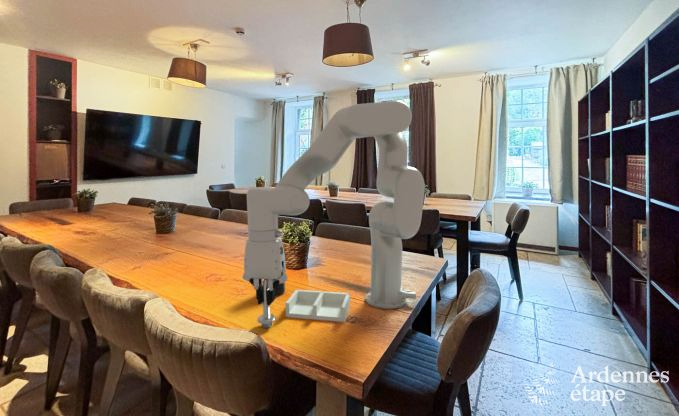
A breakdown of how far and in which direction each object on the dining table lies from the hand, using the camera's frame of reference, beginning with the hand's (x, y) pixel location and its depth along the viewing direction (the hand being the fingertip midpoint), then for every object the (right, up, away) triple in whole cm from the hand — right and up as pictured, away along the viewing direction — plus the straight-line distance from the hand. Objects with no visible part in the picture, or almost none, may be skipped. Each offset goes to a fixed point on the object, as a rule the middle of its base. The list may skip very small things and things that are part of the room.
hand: (265, 302), depth 89 cm
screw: (0, -7, +1) cm, 7 cm away
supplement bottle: (-2, -4, +23) cm, 24 cm away
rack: (+14, -5, +10) cm, 18 cm away
